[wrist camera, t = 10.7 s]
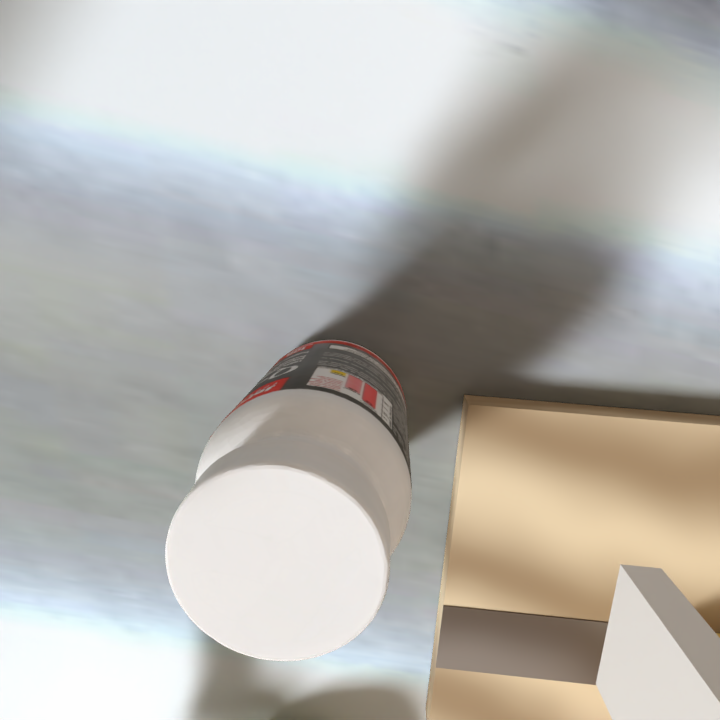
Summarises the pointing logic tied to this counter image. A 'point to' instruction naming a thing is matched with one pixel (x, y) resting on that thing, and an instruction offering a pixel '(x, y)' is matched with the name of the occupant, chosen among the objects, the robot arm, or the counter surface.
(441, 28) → the counter surface
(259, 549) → the pill bottle
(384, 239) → the counter surface
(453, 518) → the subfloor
